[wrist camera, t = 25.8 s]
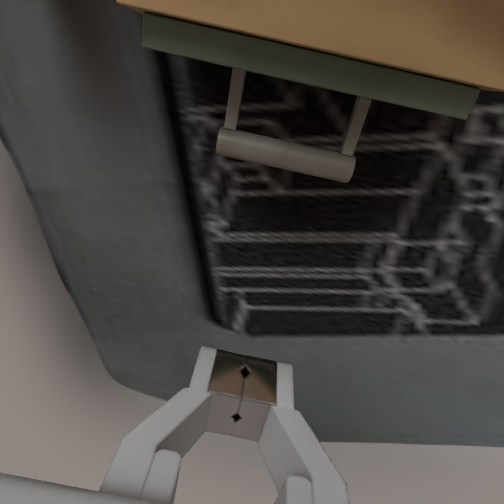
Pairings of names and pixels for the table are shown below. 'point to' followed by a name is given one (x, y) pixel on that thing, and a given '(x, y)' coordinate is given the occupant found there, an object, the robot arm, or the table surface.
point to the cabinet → (368, 31)
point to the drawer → (307, 72)
